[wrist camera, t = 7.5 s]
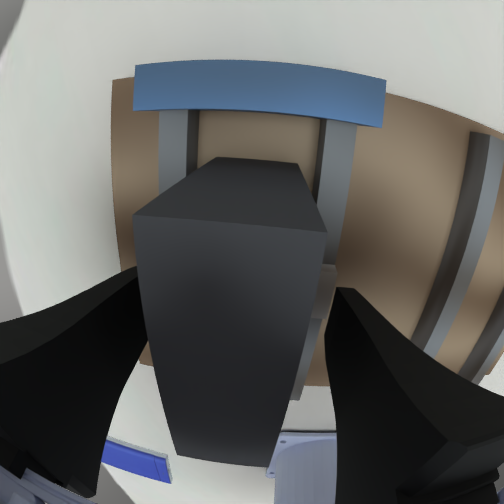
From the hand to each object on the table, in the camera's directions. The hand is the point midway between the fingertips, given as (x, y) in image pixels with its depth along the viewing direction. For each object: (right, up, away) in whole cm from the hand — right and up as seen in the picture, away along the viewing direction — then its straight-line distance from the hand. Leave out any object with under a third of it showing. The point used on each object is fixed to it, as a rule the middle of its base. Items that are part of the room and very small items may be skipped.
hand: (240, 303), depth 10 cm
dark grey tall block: (0, +2, +3) cm, 3 cm away
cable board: (+6, +1, +3) cm, 7 cm away
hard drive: (-15, -20, +16) cm, 30 cm away
